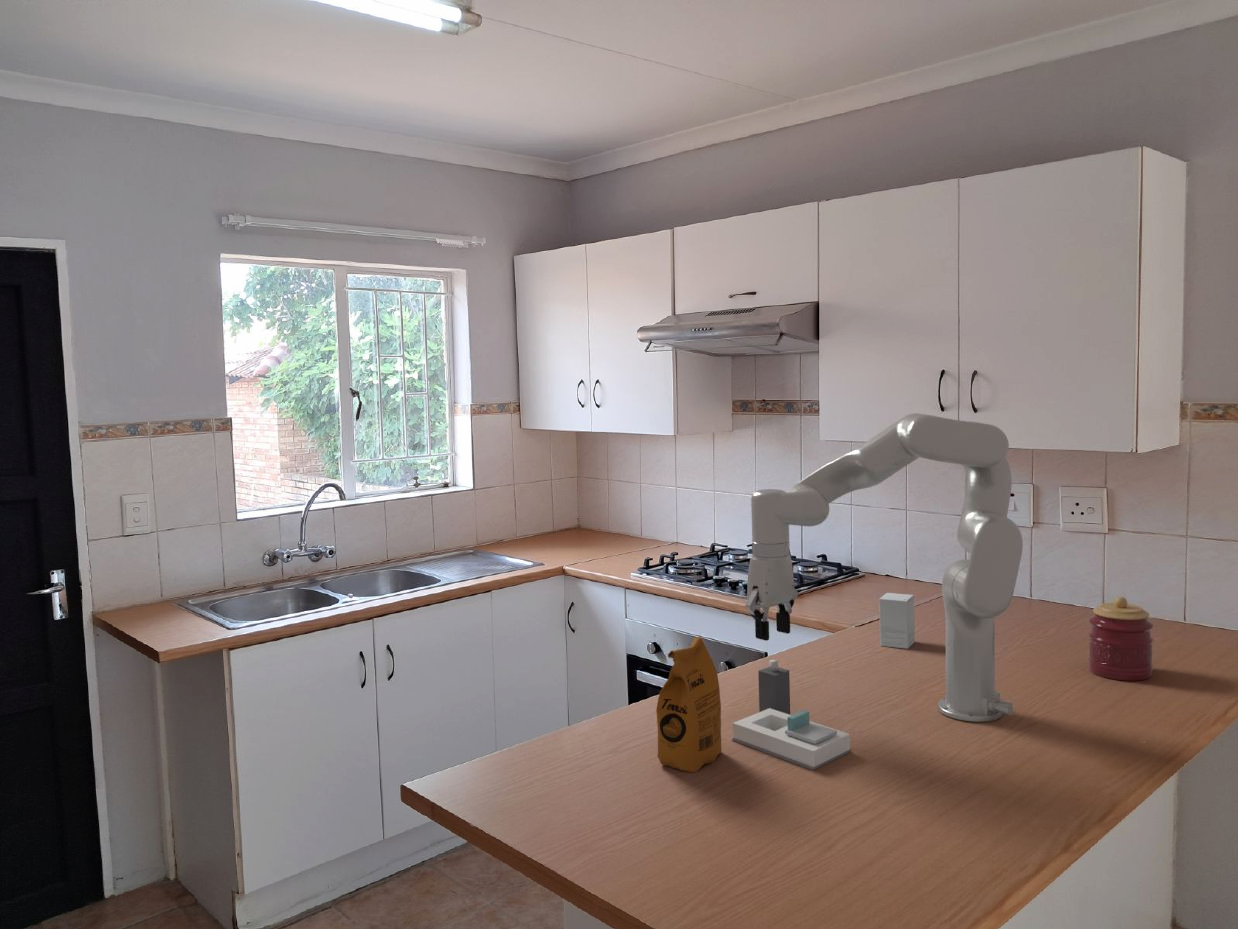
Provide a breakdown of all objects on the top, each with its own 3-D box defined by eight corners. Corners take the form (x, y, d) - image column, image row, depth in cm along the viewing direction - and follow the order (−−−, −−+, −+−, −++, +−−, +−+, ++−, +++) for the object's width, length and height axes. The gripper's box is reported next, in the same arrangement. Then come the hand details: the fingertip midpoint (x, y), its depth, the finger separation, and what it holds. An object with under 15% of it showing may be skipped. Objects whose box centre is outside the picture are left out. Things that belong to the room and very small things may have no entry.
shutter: (837, 734, 172) (836, 718, 171) (815, 744, 167) (814, 728, 167) (806, 724, 177) (806, 709, 177) (785, 733, 173) (784, 718, 173)
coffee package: (649, 764, 171) (645, 649, 169) (685, 742, 180) (682, 632, 178) (694, 777, 165) (690, 657, 163) (729, 752, 174) (726, 640, 172)
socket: (851, 751, 173) (850, 733, 172) (812, 770, 165) (812, 751, 165) (770, 724, 188) (770, 707, 187) (732, 740, 180) (731, 723, 180)
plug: (790, 717, 191) (789, 661, 190) (776, 723, 188) (774, 666, 187) (773, 711, 195) (772, 656, 193) (759, 717, 192) (758, 661, 191)
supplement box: (915, 642, 239) (915, 594, 238) (907, 649, 233) (907, 601, 232) (887, 638, 243) (886, 591, 242) (879, 646, 237) (878, 598, 236)
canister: (1139, 686, 201) (1141, 607, 199) (1078, 673, 211) (1079, 598, 209) (1161, 671, 210) (1162, 596, 208) (1101, 660, 219) (1102, 587, 218)
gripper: (783, 541, 196) (785, 624, 198) (728, 554, 185) (731, 641, 187) (812, 545, 191) (813, 630, 192) (757, 558, 180) (759, 648, 181)
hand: (773, 634), depth 190 cm, fingers open, 6 cm apart
